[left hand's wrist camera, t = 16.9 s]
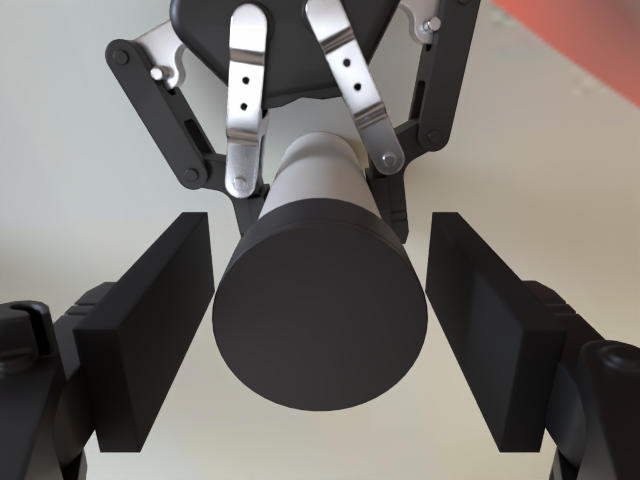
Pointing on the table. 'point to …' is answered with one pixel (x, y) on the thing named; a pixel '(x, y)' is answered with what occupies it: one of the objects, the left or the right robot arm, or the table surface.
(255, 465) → the table surface
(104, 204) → the table surface
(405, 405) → the table surface
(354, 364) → the lid
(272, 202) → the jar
